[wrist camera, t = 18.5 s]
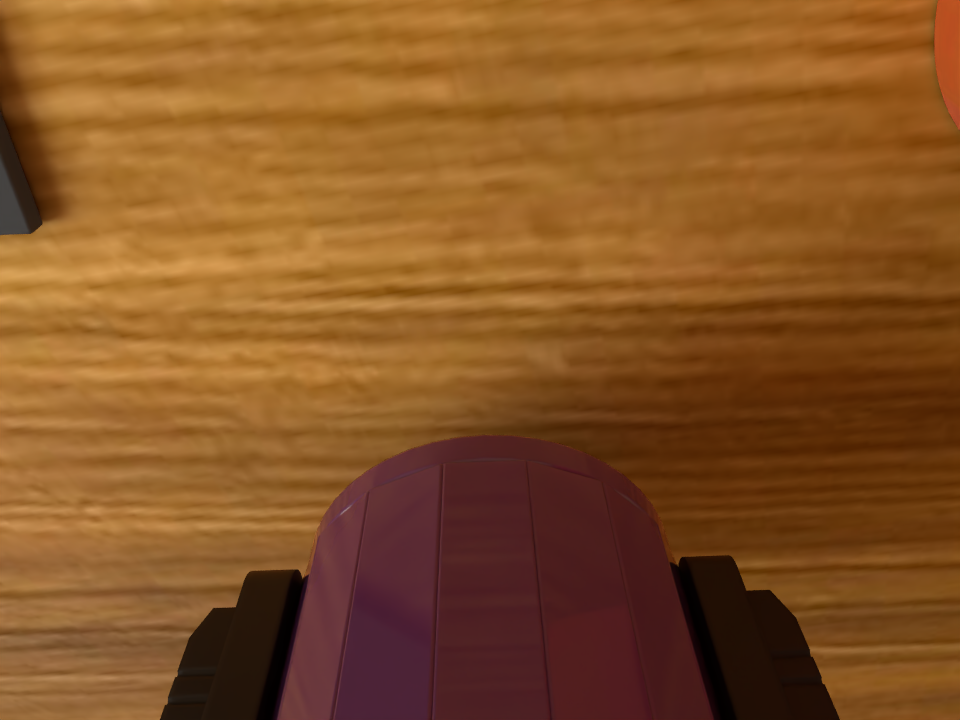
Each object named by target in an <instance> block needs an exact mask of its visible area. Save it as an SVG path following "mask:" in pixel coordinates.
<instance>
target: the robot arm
mask: <svg viewBox="0 0 960 720" xmlns="http://www.w3.org/2000/svg"><path fill="white" fill-rule="evenodd" d="M678 568H679V570H680V573H681V577H682V580H683V584H684V587H685V590H686V594H687V597H688V600H689V604H690V607H691V610H692V614H693V617H694V620H695V624H696V627H697V631H698V634H699V637H700V641H701V644H702V647H703V651H704V654H705V657H706V661H707V664H708V668H709V671H710V674H711V678H712V681H713V684H714V688H715V691H716V694H717V698H718V701H719V705H720V708H721V711H722V715H723V718H724V720H840V719H839V716H838V714H837V712H836V709H835V707H834V705H833V702H832V700H831V698H830V696H829V693H828V691H827V689H826V686H825V684H823V683H822V680H821V678H822V677H821V675H820V672H819V670H818V668H817V665H816V663H815V661H814V659H813V657H811V656H810V649H809V647H808V645H807V642H806V640H805V638H804V635H803V633H802V631H801V628H800V626H799V624H798V622H797V619H796V617H795V616H794V615H793V614H792V613H791V612H790V611H789V610H788V609H787V608H786V607H785V606H784V605H783V603H782V602H781V601H780V600H779V599H778V598H777V597H776V596H775V595H774V594H773V593H772V592H771V591H770V590H753V591H746V588H745V586H744V583H743V581H742V578H741V575H740V573H739V570H738V567H737V565H736V563H735V561H734V559H733V558H732V557H731V556H729V555H725V556H696V557H682V558H681V559H680V561H679V565H678ZM301 583H302V576H301V573H300V571H299V570H269V571H250V572H249V573H248V574H247V576H246V578H245V580H244V583H243V586H242V589H241V593H240V596H239V599H238V602H237V605H236V607H232V608H213V609H212V611H211V612H210V613H209V614H208V616H207V617H206V618H205V619H204V620H203V622H202V623H201V624H200V625H199V627H198V628H197V629H196V630H195V631H194V633H193V634H192V635H191V636H190V638H189V640H188V643H187V646H186V649H185V652H184V654H183V657H182V660H181V663H180V665H179V668H178V676H177V677H175V679H174V682H173V685H172V688H171V690H170V693H169V696H168V704H167V705H165V707H164V710H163V713H162V715H161V718H160V720H269V719H270V715H271V711H272V706H273V702H274V698H275V693H276V689H277V685H278V681H279V676H280V672H281V668H282V664H283V659H284V655H285V651H286V646H287V642H288V638H289V634H290V629H291V625H292V621H293V617H294V612H295V608H296V604H297V599H298V595H299V591H300V587H301Z"/></svg>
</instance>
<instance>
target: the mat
mask: <svg viewBox="0 0 960 720" xmlns="http://www.w3.org/2000/svg"><path fill="white" fill-rule="evenodd" d="M41 225H42V220H41V217H40V215H39V212H38V209H37V207H36V204H35V201H34V199H33V196H32V193H31V191H30V188H29V185H28V183H27V180H26V177H25V175H24V172H23V170H22V167H21V164H20V162H19V159H18V156H17V154H16V151H15V148H14V146H13V143H12V140H11V138H10V135H9V132H8V130H7V127H6V124H5V122H4V119H3V116H2V114H1V111H0V235H8V234H31V233H33V232H34V231H35V230H36V229H38V228H39V227H40V226H41Z"/></svg>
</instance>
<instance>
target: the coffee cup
mask: <svg viewBox="0 0 960 720" xmlns="http://www.w3.org/2000/svg"><path fill="white" fill-rule="evenodd" d="M934 50H935V64H936V71H937V77H938V81H939V86H940V90H941V93H942V96H943V99H944V102H945V104H946V107H947V109H948V111H949V113H950V115H951V117H952V119H953V121H954V122H955V124H956V126H957V127H958V129H959V130H960V0H938V4H937V10H936V19H935V34H934Z"/></svg>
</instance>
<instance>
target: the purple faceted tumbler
mask: <svg viewBox="0 0 960 720" xmlns="http://www.w3.org/2000/svg"><path fill="white" fill-rule="evenodd" d="M269 720H724V718H723V715H722V711H721V708H720V705H719V701H718V698H717V694H716V691H715V688H714V684H713V681H712V678H711V674H710V671H709V668H708V664H707V661H706V657H705V654H704V651H703V647H702V644H701V641H700V637H699V634H698V631H697V627H696V624H695V620H694V617H693V614H692V610H691V607H690V604H689V600H688V597H687V594H686V590H685V587H684V584H683V580H682V577H681V573H680V570H679V568H678V566H677V564H676V562H675V559H674V557H673V555H672V552H671V549H670V545H669V542H668V539H667V535H666V533H665V530H664V527H663V524H662V521H661V519H660V517H659V516H658V514H657V512H656V510H655V509H654V507H653V505H652V504H651V502H650V501H649V500H648V499H647V498H646V496H645V495H644V494H643V493H642V491H641V490H640V489H639V488H638V487H637V486H635V485H634V484H633V483H632V482H631V481H630V480H629V479H628V478H626V477H625V476H624V475H623V474H622V473H620V472H619V471H617V470H616V469H614V468H613V467H611V466H610V465H608V464H607V463H605V462H603V461H601V460H599V459H597V458H595V457H593V456H591V455H589V454H587V453H585V452H583V451H580V450H577V449H574V448H571V447H568V446H566V445H563V444H560V443H555V442H551V441H546V440H542V439H538V438H531V437H523V436H514V435H475V436H463V437H455V438H450V439H445V440H440V441H435V442H431V443H427V444H424V445H421V446H418V447H415V448H411V449H408V450H406V451H404V452H401V453H399V454H397V455H395V456H392V457H390V458H388V459H386V460H384V461H382V462H381V463H379V464H377V465H376V466H374V467H372V468H371V469H369V470H367V471H366V472H365V473H363V474H362V475H361V476H360V477H358V478H357V479H356V480H354V481H353V482H352V483H351V484H349V485H348V487H347V488H346V489H345V490H344V491H343V492H342V493H341V494H340V495H339V496H338V497H337V498H336V499H335V500H334V502H333V503H332V504H331V506H330V507H329V509H328V510H327V512H326V513H325V515H324V516H323V518H322V520H321V522H320V525H319V527H318V529H317V531H316V534H315V538H314V542H313V546H312V550H311V554H310V558H309V563H308V566H307V569H306V572H305V574H304V577H303V580H302V583H301V587H300V591H299V595H298V599H297V604H296V608H295V612H294V617H293V621H292V625H291V629H290V634H289V638H288V642H287V646H286V651H285V655H284V659H283V664H282V668H281V672H280V676H279V681H278V685H277V689H276V693H275V698H274V702H273V706H272V711H271V715H270V719H269Z"/></svg>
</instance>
